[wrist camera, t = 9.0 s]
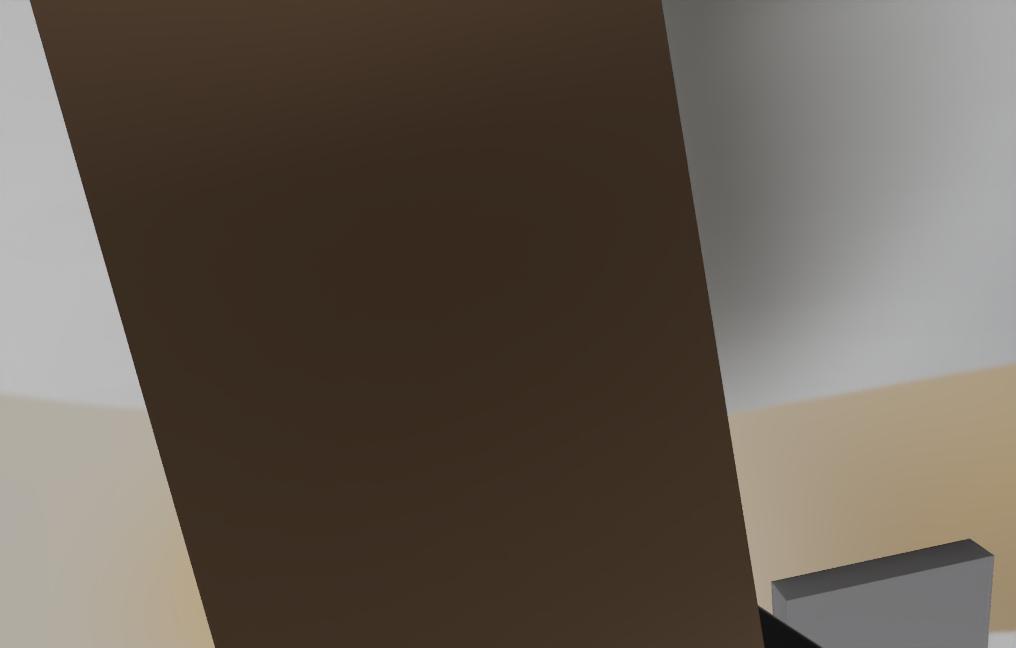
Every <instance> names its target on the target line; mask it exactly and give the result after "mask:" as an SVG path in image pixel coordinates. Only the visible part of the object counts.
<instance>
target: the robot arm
mask: <svg viewBox="0 0 1016 648" xmlns="http://www.w3.org/2000/svg"><path fill="white" fill-rule="evenodd" d="M758 610H759V617H760V623H761V629H762V635H763V642H764V648H823V647H821V646H820V645H818V644H817V643H815V642H814V641H812V640H811V639H809V638H808V637H806V636H804V635H803V634H801V633H800V632H798V631H797V630H795V629H794V628H792V627H791V626H789V625H787V624H786V623H784V622H783V621H781V620H780V619H778V618H777V617H775V616H774V615H772V614H771V613H769V612H767V611H766V610H764V609H763V608H761V607H760V606H758Z"/></svg>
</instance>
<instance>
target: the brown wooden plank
mask: <svg viewBox="0 0 1016 648" xmlns="http://www.w3.org/2000/svg"><path fill="white" fill-rule="evenodd" d="M30 3H31V6H32V10H33V13H34V17H35V20H36V24H37V27H38V31H39V34H40V38H41V41H42V45H43V48H44V52H45V55H46V59H47V62H48V66H49V69H50V73H51V76H52V79H53V83H54V86H55V90H56V93H57V97H58V100H59V104H60V107H61V111H62V114H63V118H64V121H65V125H66V128H67V132H68V135H69V139H70V142H71V146H72V149H73V153H74V156H75V160H76V163H77V167H78V170H79V174H80V177H81V181H82V184H83V188H84V191H85V195H86V198H87V202H88V205H89V209H90V212H91V216H92V219H93V223H94V226H95V230H96V233H97V237H98V240H99V244H100V247H101V251H102V254H103V258H104V261H105V265H106V268H107V272H108V275H109V279H110V282H111V286H112V289H113V292H114V296H115V299H116V303H117V306H118V310H119V313H120V317H121V320H122V324H123V327H124V331H125V334H126V338H127V341H128V345H129V348H130V352H131V355H132V359H133V362H134V366H135V369H136V373H137V376H138V380H139V383H140V387H141V390H142V394H143V397H144V401H145V404H146V408H147V411H148V415H149V418H150V422H151V425H152V429H153V432H154V436H155V439H156V443H157V446H158V449H159V453H160V457H161V460H162V464H163V467H164V471H165V474H166V477H167V481H168V485H169V488H170V491H171V495H172V498H173V502H174V505H175V509H176V512H177V516H178V519H179V522H180V526H181V530H182V533H183V537H184V540H185V544H186V547H187V550H188V554H189V558H190V561H191V565H192V568H193V572H194V575H195V579H196V582H197V586H198V589H199V593H200V596H201V600H202V603H203V606H204V610H205V613H206V617H207V621H208V624H209V627H210V631H211V634H212V638H213V641H214V645H215V648H764V642H763V635H762V629H761V623H760V617H759V610H758V604H757V598H756V591H755V585H754V579H753V573H752V566H751V560H750V555H749V548H748V542H747V535H746V529H745V523H744V516H743V510H742V504H741V497H740V491H739V485H738V479H737V473H736V466H735V460H734V454H733V448H732V441H731V435H730V429H729V423H728V416H727V410H726V403H725V397H724V391H723V385H722V378H721V372H720V366H719V360H718V353H717V347H716V341H715V334H714V328H713V322H712V316H711V309H710V303H709V297H708V291H707V284H706V278H705V272H704V266H703V259H702V253H701V247H700V240H699V234H698V228H697V222H696V215H695V209H694V203H693V197H692V190H691V184H690V178H689V172H688V165H687V159H686V153H685V146H684V140H683V134H682V128H681V121H680V115H679V109H678V103H677V96H676V90H675V84H674V78H673V71H672V65H671V59H670V52H669V46H668V40H667V34H666V27H665V21H664V15H663V9H662V2H661V0H30Z"/></svg>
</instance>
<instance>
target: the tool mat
mask: <svg viewBox="0 0 1016 648" xmlns="http://www.w3.org/2000/svg"><path fill="white" fill-rule="evenodd" d="M993 564H994V555H993V554H991V553H990V552H988V551H987V550H985V549H984V548H983V547H981V546H980V545H978V544H977V543H975V542H974V541H972V540H971V539H967V540H961V541H957V542H952V543H948V544H943V545H938V546H934V547H929V548H924V549H920V550H915V551H911V552H906V553H901V554H897V555H893V556H887V557H883V558H878V559H874V560H869V561H864V562H860V563H855V564H851V565H846V566H841V567H837V568H832V569H827V570H823V571H818V572H813V573H809V574H805V575H800V576H795V577H791V578H786V579H782V580H777V581H772V582H771V584H772V604H773V615H774V616H775V617H777V618H778V619H780V620H781V621H783V622H784V623H786V624H787V625H789V626H791V627H792V628H794V629H795V630H797V631H798V632H800V633H801V634H803V635H804V636H806V637H808V638H809V639H811V640H812V641H814V642H815V643H817V644H818V645H820V646H821V647H823V648H987V647H988V634H989V619H990V607H991V605H990V604H991V593H992V579H993V566H994V565H993Z"/></svg>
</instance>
